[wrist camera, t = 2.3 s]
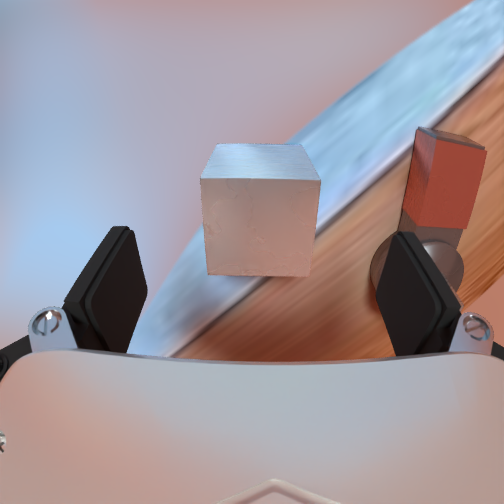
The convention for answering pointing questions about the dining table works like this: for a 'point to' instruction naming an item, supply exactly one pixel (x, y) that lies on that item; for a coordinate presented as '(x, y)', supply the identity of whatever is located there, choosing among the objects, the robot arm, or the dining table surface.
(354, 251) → the dining table surface
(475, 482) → the robot arm
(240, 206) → the brushed aluminum cube
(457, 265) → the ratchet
